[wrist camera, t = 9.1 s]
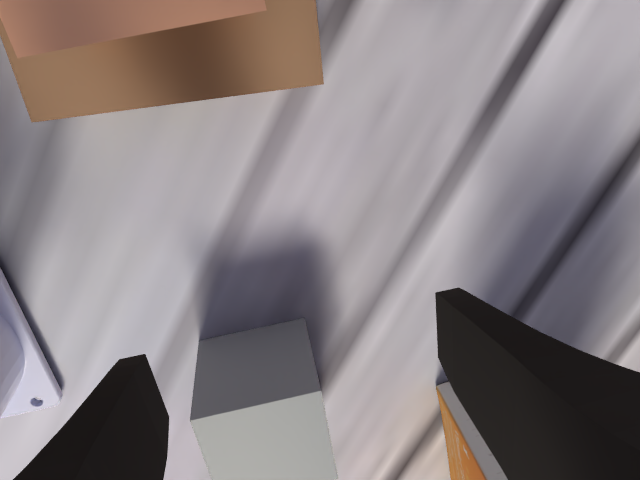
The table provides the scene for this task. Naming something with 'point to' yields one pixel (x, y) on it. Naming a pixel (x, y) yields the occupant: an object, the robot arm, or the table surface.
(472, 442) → the small box
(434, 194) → the table surface
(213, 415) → the slate grey block
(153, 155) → the table surface
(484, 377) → the robot arm
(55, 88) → the tan square block
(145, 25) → the terracotta block
